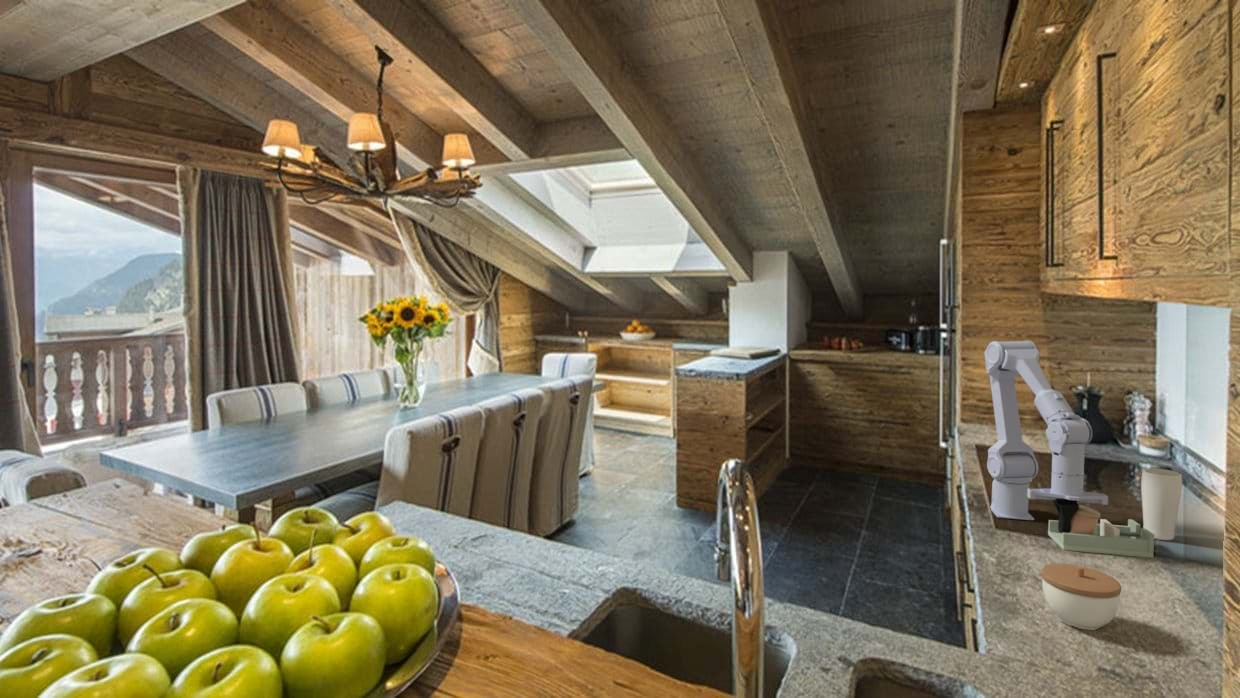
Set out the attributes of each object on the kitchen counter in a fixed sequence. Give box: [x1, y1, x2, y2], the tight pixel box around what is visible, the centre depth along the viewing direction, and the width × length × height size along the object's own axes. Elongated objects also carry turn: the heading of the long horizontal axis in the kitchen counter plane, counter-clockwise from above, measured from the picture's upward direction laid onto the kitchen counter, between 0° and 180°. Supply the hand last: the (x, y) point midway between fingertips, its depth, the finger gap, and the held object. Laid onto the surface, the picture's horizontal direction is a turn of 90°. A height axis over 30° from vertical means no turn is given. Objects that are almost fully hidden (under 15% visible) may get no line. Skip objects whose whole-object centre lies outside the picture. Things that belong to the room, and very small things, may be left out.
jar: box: [1070, 504, 1101, 535], centre depth 132 cm, size 5×5×7 cm
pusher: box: [1099, 518, 1141, 538], centre depth 130 cm, size 6×8×4 cm
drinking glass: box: [1140, 467, 1183, 541], centre depth 135 cm, size 7×7×15 cm
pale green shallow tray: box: [1047, 518, 1155, 559], centre depth 132 cm, size 9×16×5 cm, turn 72°
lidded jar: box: [1041, 563, 1122, 630], centre depth 102 cm, size 11×11×9 cm
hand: (1065, 532), depth 133 cm, fingers closed, pressing on jar
